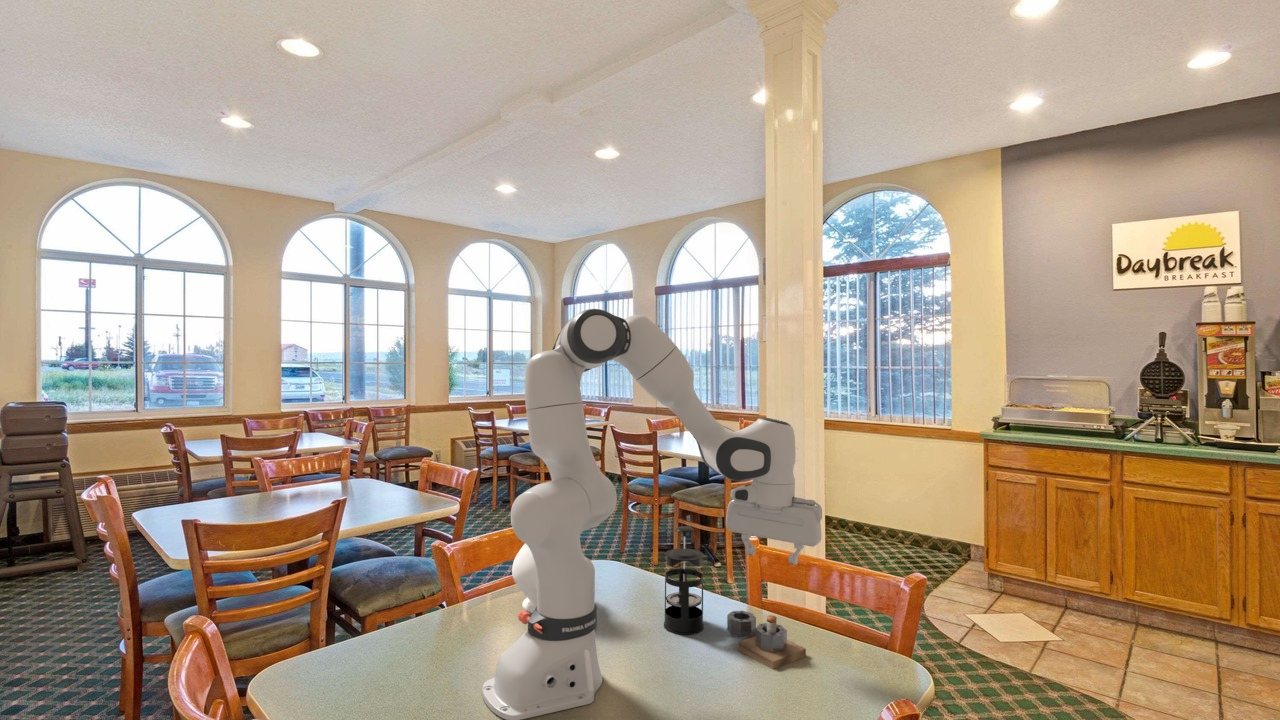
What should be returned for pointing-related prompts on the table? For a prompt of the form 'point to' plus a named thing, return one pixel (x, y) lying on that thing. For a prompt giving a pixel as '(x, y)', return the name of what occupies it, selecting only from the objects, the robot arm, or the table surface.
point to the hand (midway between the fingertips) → (771, 559)
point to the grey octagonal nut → (771, 638)
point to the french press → (683, 591)
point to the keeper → (769, 658)
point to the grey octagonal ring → (741, 624)
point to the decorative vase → (526, 577)
